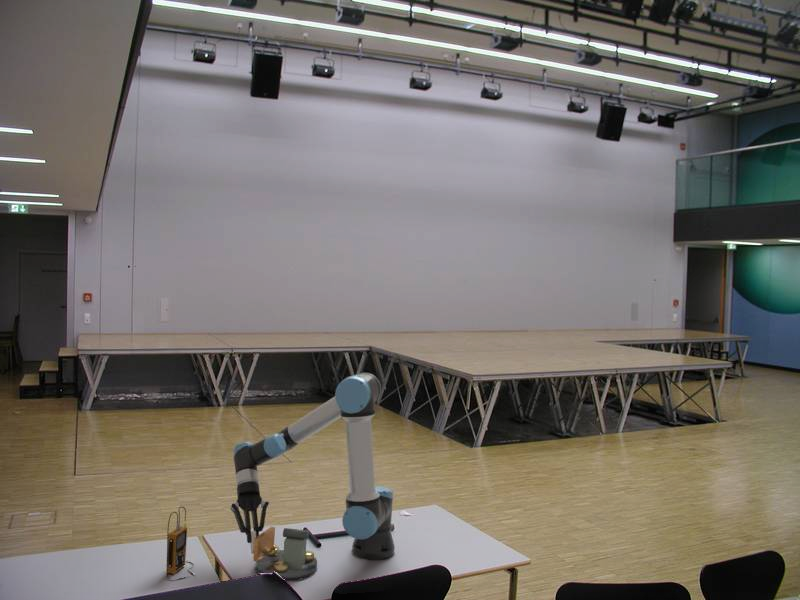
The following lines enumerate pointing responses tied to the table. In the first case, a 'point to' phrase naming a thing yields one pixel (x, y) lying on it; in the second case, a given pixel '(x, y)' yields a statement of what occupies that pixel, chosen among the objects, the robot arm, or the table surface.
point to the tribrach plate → (291, 573)
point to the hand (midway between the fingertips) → (254, 551)
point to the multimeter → (176, 547)
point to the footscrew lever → (265, 545)
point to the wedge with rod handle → (295, 547)
